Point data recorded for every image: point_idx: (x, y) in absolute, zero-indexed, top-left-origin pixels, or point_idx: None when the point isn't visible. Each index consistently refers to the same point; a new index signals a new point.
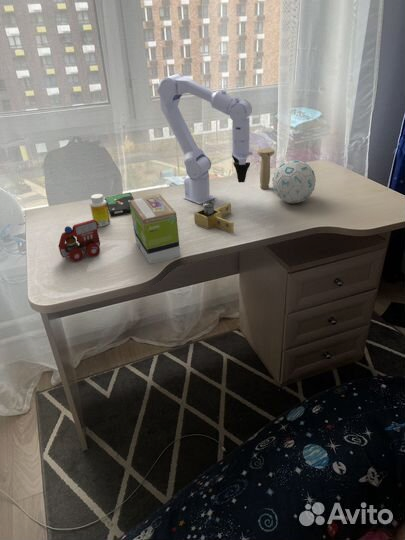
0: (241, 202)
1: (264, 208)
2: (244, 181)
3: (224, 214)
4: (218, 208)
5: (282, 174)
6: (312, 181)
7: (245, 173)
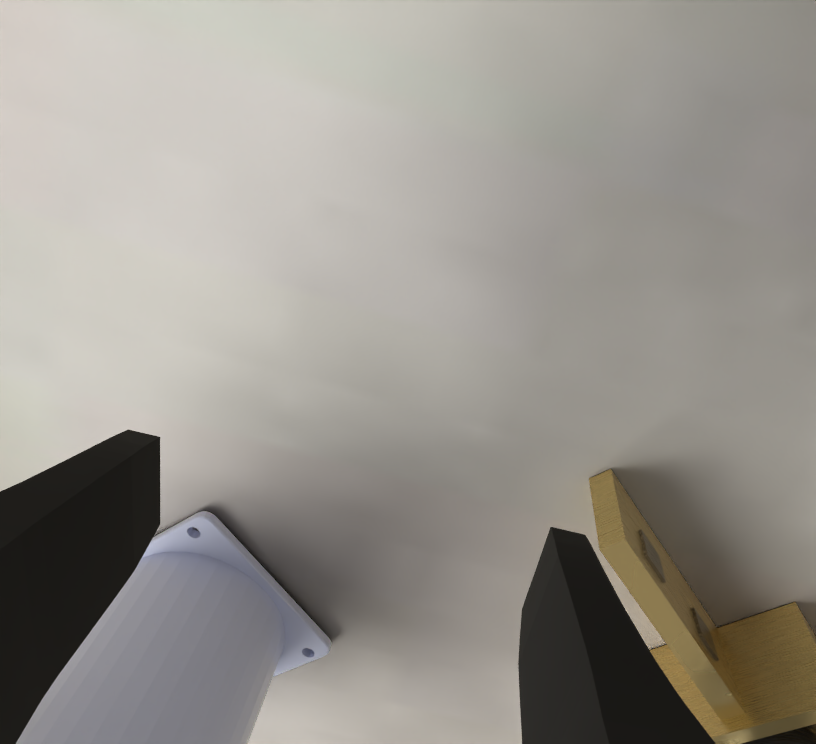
0: (370, 292)
1: (655, 57)
2: (588, 543)
3: (662, 552)
4: (701, 676)
5: None
6: None
7: (666, 703)
